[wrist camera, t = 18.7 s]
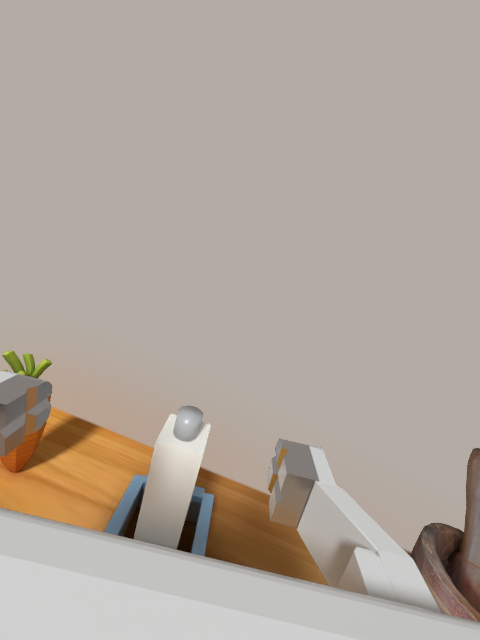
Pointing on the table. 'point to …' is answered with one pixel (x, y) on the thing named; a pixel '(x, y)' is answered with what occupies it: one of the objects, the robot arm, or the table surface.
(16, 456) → the carrot
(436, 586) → the mortar and pestle
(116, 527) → the ladder grid frame
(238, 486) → the table surface
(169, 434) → the capped white pillar
